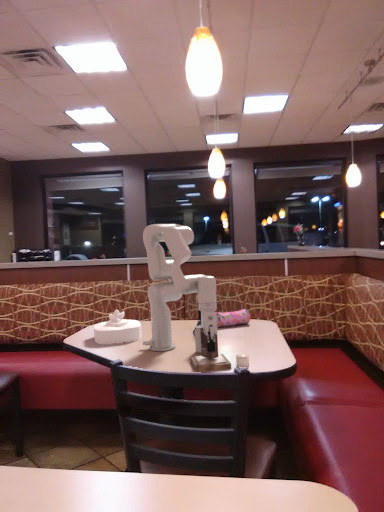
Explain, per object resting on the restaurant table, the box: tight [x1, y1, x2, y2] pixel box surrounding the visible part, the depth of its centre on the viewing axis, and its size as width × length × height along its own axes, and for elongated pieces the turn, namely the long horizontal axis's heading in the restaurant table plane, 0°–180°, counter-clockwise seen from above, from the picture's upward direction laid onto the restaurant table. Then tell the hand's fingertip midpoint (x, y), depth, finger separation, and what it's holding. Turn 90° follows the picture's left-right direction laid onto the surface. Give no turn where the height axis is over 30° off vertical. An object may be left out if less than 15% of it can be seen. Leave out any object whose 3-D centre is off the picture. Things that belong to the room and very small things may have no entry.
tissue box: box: [93, 309, 143, 345], centre depth 219 cm, size 25×25×16 cm
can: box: [194, 324, 202, 354], centre depth 183 cm, size 8×8×12 cm
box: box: [200, 328, 219, 359], centre depth 163 cm, size 6×4×12 cm
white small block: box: [235, 353, 250, 369], centre depth 159 cm, size 5×5×4 cm
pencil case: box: [215, 308, 251, 328], centre depth 237 cm, size 21×9×9 cm, turn 108°
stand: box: [190, 353, 232, 373], centre depth 163 cm, size 14×14×2 cm
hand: (209, 348), depth 163 cm, fingers closed on box, 7 cm apart
